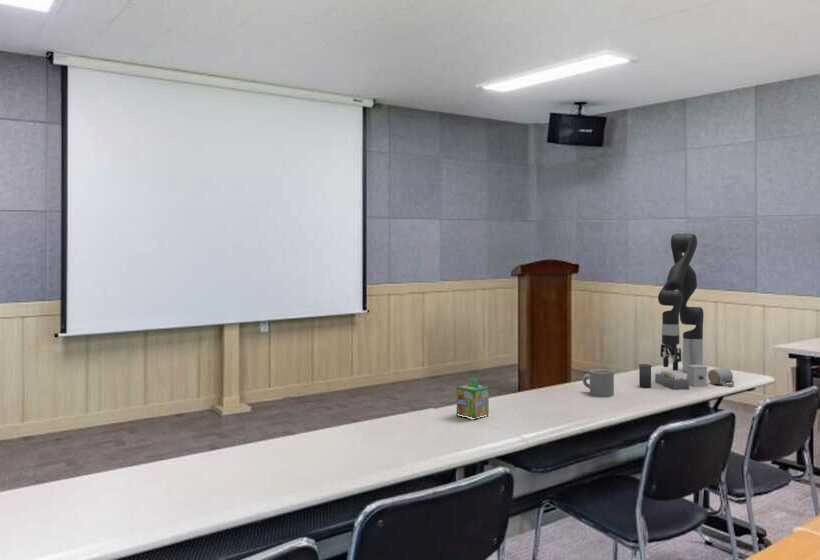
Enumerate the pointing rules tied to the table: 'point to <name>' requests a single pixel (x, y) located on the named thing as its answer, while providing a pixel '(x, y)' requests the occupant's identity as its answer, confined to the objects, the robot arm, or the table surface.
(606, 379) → the coffee mug
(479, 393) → the chalk box
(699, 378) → the junction box
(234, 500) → the table surface
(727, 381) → the ceramic mug
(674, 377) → the breaker strip
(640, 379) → the dark grey upright block
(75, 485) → the table surface
